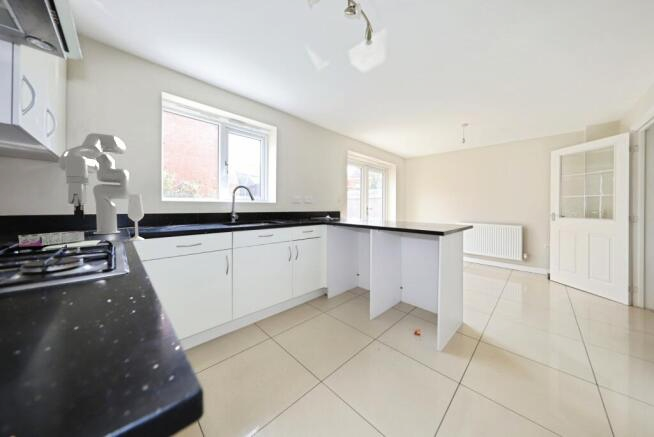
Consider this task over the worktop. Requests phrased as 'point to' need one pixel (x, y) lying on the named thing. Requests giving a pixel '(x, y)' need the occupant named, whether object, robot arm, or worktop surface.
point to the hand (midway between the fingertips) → (79, 218)
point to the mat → (73, 244)
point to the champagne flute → (135, 212)
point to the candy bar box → (50, 238)
